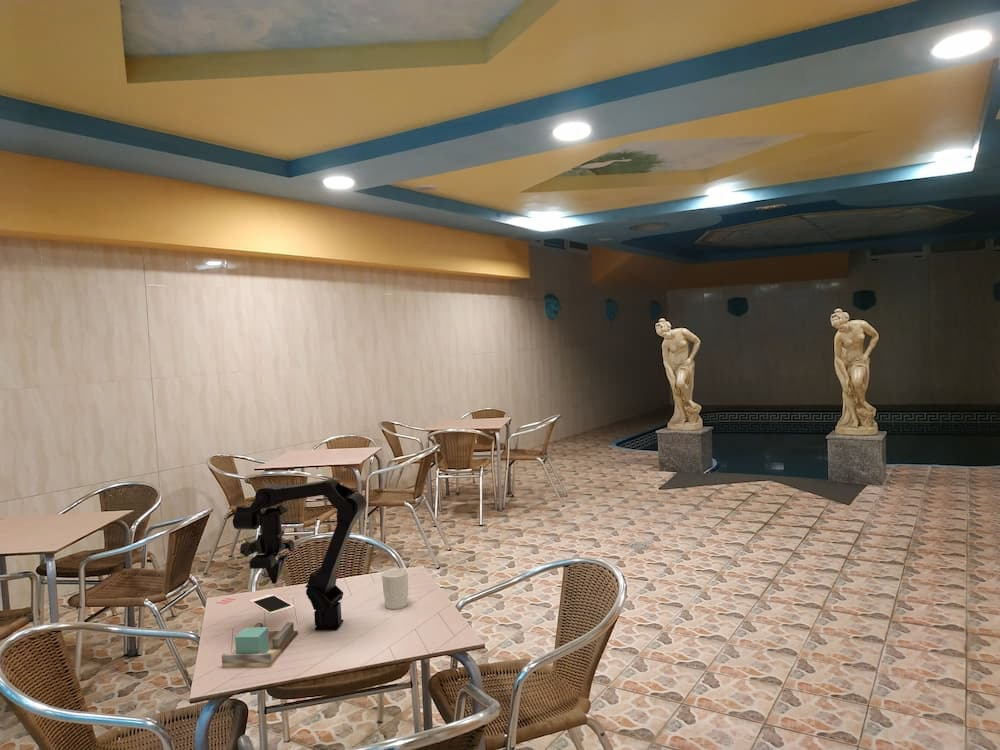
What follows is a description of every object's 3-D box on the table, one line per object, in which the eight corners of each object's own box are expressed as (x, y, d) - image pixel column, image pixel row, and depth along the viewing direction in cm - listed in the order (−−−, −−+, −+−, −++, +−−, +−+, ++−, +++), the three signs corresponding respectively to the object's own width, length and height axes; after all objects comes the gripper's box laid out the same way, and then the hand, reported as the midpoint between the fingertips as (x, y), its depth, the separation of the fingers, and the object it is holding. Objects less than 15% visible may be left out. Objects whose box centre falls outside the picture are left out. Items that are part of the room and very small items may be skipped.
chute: (297, 634, 192) (297, 622, 192) (270, 666, 173) (269, 653, 173) (254, 634, 193) (253, 622, 193) (222, 667, 174) (221, 653, 174)
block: (269, 649, 181) (267, 627, 180) (259, 660, 175) (258, 636, 174) (246, 650, 181) (245, 627, 181) (236, 660, 175) (235, 637, 175)
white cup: (415, 602, 212) (413, 570, 212) (397, 611, 205) (396, 578, 205) (395, 598, 216) (393, 567, 216) (377, 607, 210) (376, 574, 209)
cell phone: (272, 595, 225) (272, 593, 225) (295, 608, 213) (295, 606, 213) (248, 602, 220) (248, 600, 220) (270, 615, 208) (270, 613, 208)
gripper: (257, 521, 209) (260, 573, 209) (228, 539, 190) (232, 595, 191) (293, 520, 208) (296, 572, 209) (268, 538, 189) (272, 594, 190)
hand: (274, 583), depth 199 cm, fingers closed
